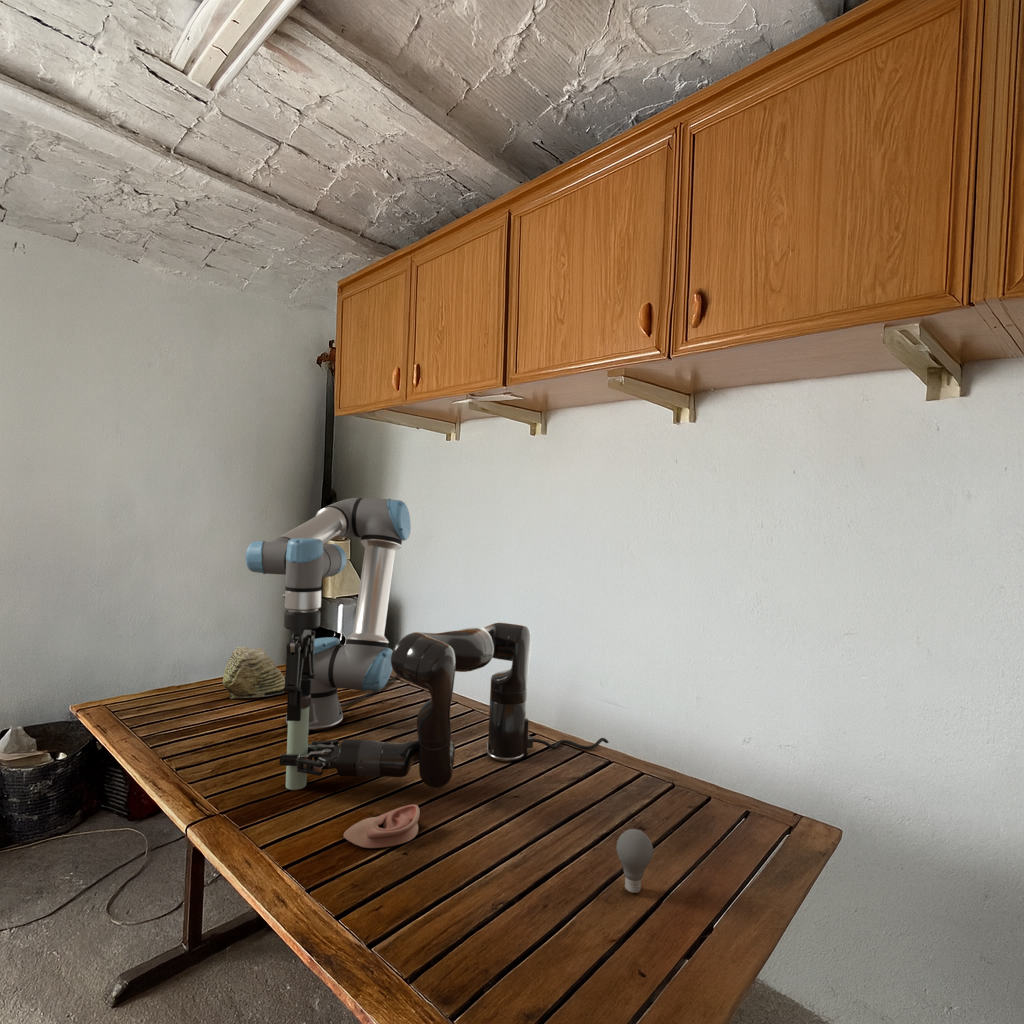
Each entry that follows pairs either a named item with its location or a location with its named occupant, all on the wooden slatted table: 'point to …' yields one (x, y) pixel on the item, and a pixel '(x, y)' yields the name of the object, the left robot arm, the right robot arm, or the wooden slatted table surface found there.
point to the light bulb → (634, 857)
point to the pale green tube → (297, 749)
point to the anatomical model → (385, 828)
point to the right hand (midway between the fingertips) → (284, 755)
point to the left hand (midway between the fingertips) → (298, 714)
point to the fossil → (252, 674)
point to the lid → (305, 699)
